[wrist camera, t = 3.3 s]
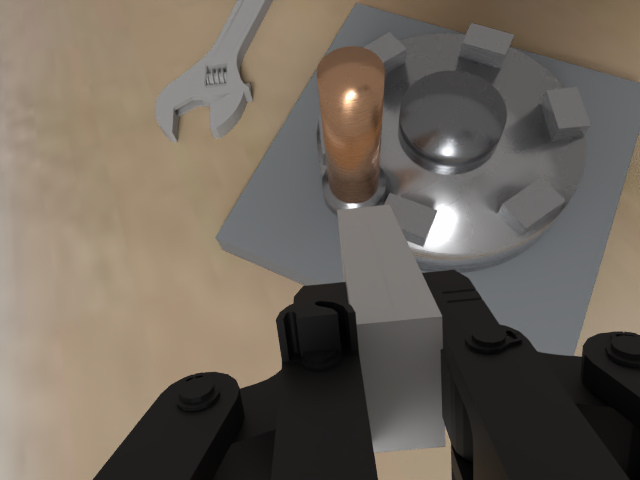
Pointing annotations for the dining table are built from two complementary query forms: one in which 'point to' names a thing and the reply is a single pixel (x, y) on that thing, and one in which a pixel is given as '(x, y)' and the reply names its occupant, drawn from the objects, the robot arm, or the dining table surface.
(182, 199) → the dining table surface
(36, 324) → the dining table surface
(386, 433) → the robot arm
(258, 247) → the base plate
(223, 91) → the adjustable wrench
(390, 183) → the metal rotary base
